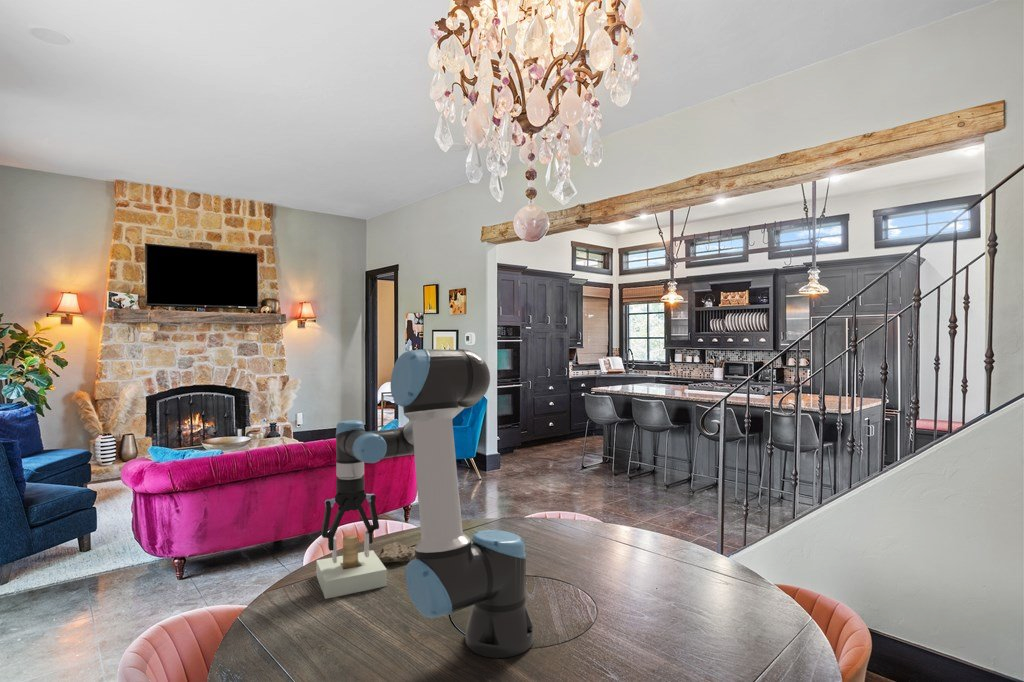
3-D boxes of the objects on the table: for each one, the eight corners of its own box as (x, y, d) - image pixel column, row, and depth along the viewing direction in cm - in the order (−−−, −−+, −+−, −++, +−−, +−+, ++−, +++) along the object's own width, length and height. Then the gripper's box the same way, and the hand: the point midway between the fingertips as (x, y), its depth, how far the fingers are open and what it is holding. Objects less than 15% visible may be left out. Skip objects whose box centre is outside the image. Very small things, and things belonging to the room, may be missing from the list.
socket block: (386, 585, 148) (386, 569, 148) (325, 598, 141) (325, 581, 141) (372, 565, 162) (372, 550, 162) (316, 576, 155) (316, 560, 155)
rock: (412, 567, 161) (412, 552, 161) (374, 567, 161) (374, 552, 161) (419, 554, 171) (419, 540, 172) (384, 553, 172) (384, 540, 172)
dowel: (359, 582, 151) (359, 538, 151) (344, 585, 149) (344, 541, 149) (356, 576, 154) (356, 534, 154) (341, 579, 152) (341, 536, 152)
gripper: (384, 469, 160) (384, 547, 160) (308, 478, 150) (309, 560, 150) (391, 474, 153) (391, 556, 153) (312, 483, 144) (313, 570, 143)
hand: (350, 558), depth 152 cm, fingers open, 8 cm apart
